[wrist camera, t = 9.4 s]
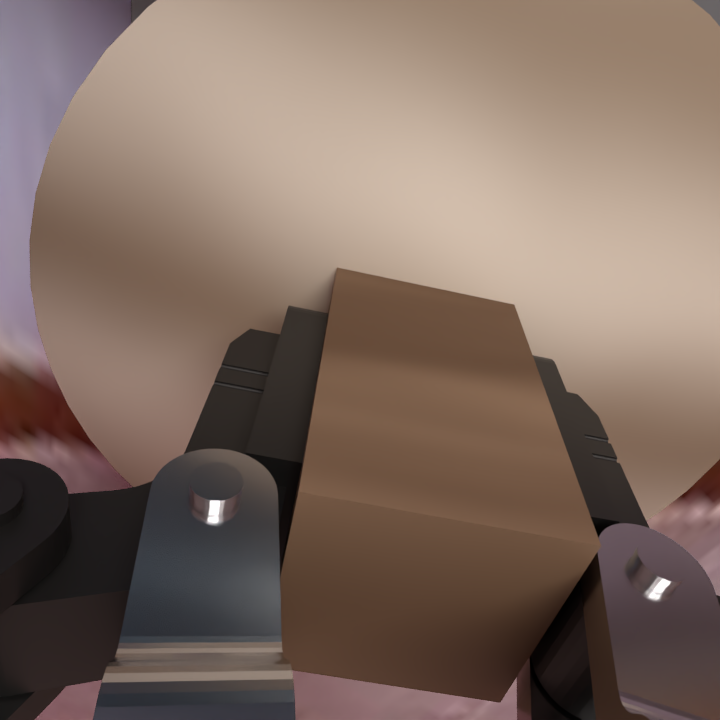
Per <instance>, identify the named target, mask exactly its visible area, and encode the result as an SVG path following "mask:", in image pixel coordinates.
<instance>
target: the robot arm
mask: <svg viewBox="0 0 720 720" xmlns="http://www.w3.org/2000/svg"><path fill="white" fill-rule="evenodd" d="M327 319H328V313H324V312H319V311H314V310H310V309H305V308H300V307H295V306H290V305H289V306H288V309H287V312H286V316H285V319H284V322H283V326H282V329H281V333H280V334H275V333H270V332H265V331H260V330H255V329H249V330H248V331H246V332H245V333H243V334H242V335H241V336H239V337H238V338H236V339H235V340H234V341H232V342H231V343H230V344H229V347H228V349H227V352H226V354H225V356H224V359H223V361H222V364H221V368H220V369H219V371H218V373H217V376H216V378H215V381H214V385H212V388H211V390H210V393H209V395H208V397H207V400H206V402H205V405H204V407H203V409H202V412H201V414H200V417H199V419H198V421H197V424H196V426H195V429H194V431H193V434H192V436H191V438H190V441H189V443H188V446H187V448H186V450H185V452H184V454H183V455H180V456H178V457H176V458H175V459H173V460H171V461H170V462H168V463H167V464H166V465H165V466H163V467H162V469H161V470H160V471H159V472H158V473H157V475H156V476H155V478H154V480H153V481H151V482H148V483H145V484H143V485H140V486H136V487H132V488H128V489H121V490H114V491H101V492H88V493H75V494H68V490H67V487H66V485H65V483H64V481H63V480H62V479H61V477H60V476H59V475H58V474H57V473H55V472H54V471H53V470H51V469H50V468H48V467H46V466H44V465H42V464H39V463H36V462H33V461H29V460H22V459H9V458H5V459H0V720H34V719H35V718H36V717H37V716H38V715H39V714H40V713H41V712H42V711H43V710H44V709H45V708H46V707H47V706H48V705H49V704H50V703H51V702H52V701H53V700H54V699H55V698H56V697H57V696H58V695H59V693H60V692H61V691H62V690H63V689H64V688H65V687H66V686H69V685H75V684H80V683H86V682H91V681H97V680H102V683H101V687H100V691H99V695H98V699H97V703H96V708H95V713H94V717H93V720H295V698H294V683H293V674H292V668H291V664H290V661H289V659H288V658H284V656H283V651H282V636H281V595H280V566H281V562H282V557H283V552H284V547H285V543H286V538H287V533H288V529H289V524H290V519H291V515H292V510H293V505H294V501H295V496H296V491H297V486H298V482H299V477H300V472H301V468H302V463H303V457H304V451H305V446H306V440H307V434H308V428H309V423H310V417H311V411H312V405H313V400H314V394H315V388H316V382H317V377H318V371H319V365H320V359H321V354H322V348H323V342H324V336H325V331H326V325H327ZM533 358H534V361H535V363H536V366H537V369H538V372H539V375H540V377H541V380H542V383H543V386H544V388H545V391H546V394H547V397H548V400H549V402H550V405H551V408H552V411H553V413H554V416H555V419H556V422H557V425H558V427H559V430H560V433H561V436H562V438H563V441H564V444H565V447H566V450H567V452H568V455H569V458H570V461H571V463H572V466H573V469H574V472H575V475H576V477H577V480H578V483H579V486H580V488H581V491H582V494H583V497H584V500H585V502H586V505H587V508H588V511H589V513H590V516H591V519H592V522H593V525H594V527H595V530H596V533H597V536H598V538H599V541H600V544H601V547H600V549H599V550H598V552H597V553H596V555H595V556H594V558H593V560H592V561H591V563H590V564H589V566H588V567H587V569H586V570H585V572H584V573H583V575H582V577H581V578H580V580H579V581H578V583H577V584H576V586H575V587H574V589H573V590H572V592H571V594H570V595H569V597H568V598H567V600H566V601H565V603H564V604H563V606H562V607H561V609H560V611H559V612H558V614H557V615H556V617H555V618H554V620H553V621H552V623H551V624H550V626H549V628H548V629H547V631H546V632H545V634H544V635H543V637H542V638H541V640H540V641H539V643H538V645H537V646H536V648H535V649H534V651H533V652H532V654H531V655H530V657H529V659H528V660H527V662H526V663H525V665H524V666H523V668H522V669H521V671H520V672H519V674H518V676H517V720H720V596H718V595H716V593H715V590H714V587H713V585H712V583H711V580H710V578H709V577H708V575H707V573H706V572H705V570H704V569H703V568H702V566H701V565H700V564H699V563H698V561H697V560H696V559H695V558H694V557H693V556H692V555H691V554H690V553H689V552H688V551H686V550H685V549H684V548H683V547H682V546H680V545H679V544H678V543H676V542H675V541H673V540H672V539H670V538H668V537H667V536H665V535H663V534H661V533H659V532H657V531H655V530H653V529H650V528H649V526H648V524H647V522H646V519H645V517H644V515H643V513H642V511H641V508H640V506H639V504H638V502H637V500H636V497H635V495H634V493H633V491H632V489H631V487H630V484H629V482H628V480H627V478H626V476H625V473H624V471H623V469H622V467H621V465H620V463H617V456H616V454H615V451H614V449H613V447H612V445H611V443H608V440H609V438H608V436H607V434H606V432H605V429H604V427H603V425H602V423H601V421H600V418H599V416H598V415H597V414H596V413H595V412H594V411H593V410H592V409H591V408H590V407H589V406H588V405H587V404H586V402H585V401H584V400H583V399H582V398H581V397H580V396H579V395H578V394H575V393H570V392H567V391H566V388H565V386H564V383H563V381H562V378H561V376H560V374H559V371H558V369H557V366H556V364H555V362H554V361H553V360H552V359H549V358H544V357H539V356H534V355H533Z"/></svg>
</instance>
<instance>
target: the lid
mask: <svg viewBox="0 0 720 720" xmlns="http://www.w3.org/2000/svg"><path fill="white" fill-rule="evenodd" d="M30 280H31V291H32V297H33V303H34V308H35V314H36V320H37V326H38V330H39V333H40V337H41V340H42V343H43V346H44V349H45V352H46V355H47V358H48V361H49V365H50V368H51V370H52V372H53V374H54V376H55V379H56V381H57V383H58V385H59V387H60V389H61V391H62V393H63V395H64V397H65V400H66V402H67V404H68V406H69V407H70V409H71V410H72V412H73V414H74V415H75V417H76V418H77V420H78V421H79V423H80V424H81V426H82V428H83V429H84V431H85V432H86V434H87V435H88V437H89V439H90V440H91V441H92V442H93V443H94V445H95V446H96V447H97V448H98V450H99V451H100V452H101V453H102V454H103V456H104V457H105V458H106V459H107V460H108V462H109V463H110V464H111V465H112V467H113V468H114V469H115V470H116V471H117V472H118V473H119V474H120V475H121V476H122V477H123V478H124V479H125V480H126V481H127V482H128V483H130V484H131V485H132V486H133V487H136V486H140V485H143V484H145V483H148V482H151V481H153V480H154V478H155V476H156V475H157V473H158V472H159V471H160V470H161V469H162V467H163V466H165V465H166V464H167V463H168V462H170V461H171V460H173V459H175V458H176V457H178V456H180V455H183V454H184V452H185V450H186V448H187V446H188V443H189V441H190V438H191V436H192V434H193V431H194V429H195V426H196V424H197V421H198V419H199V417H200V414H201V412H202V409H203V407H204V405H205V402H206V400H207V397H208V395H209V393H210V390H211V388H212V385H214V381H215V378H216V376H217V373H218V371H219V369H220V368H221V364H222V361H223V359H224V356H225V354H226V352H227V349H228V347H229V344H230V343H231V342H232V341H234V340H235V339H236V338H238V337H239V336H241V335H242V334H243V333H245V332H246V331H248V330H249V329H255V330H260V331H265V332H270V333H275V334H280V333H281V329H282V326H283V322H284V319H285V316H286V312H287V309H288V306H289V305H290V306H295V307H300V308H305V309H310V310H314V311H319V312H324V313H328V319H327V325H326V331H325V336H324V342H323V348H322V354H321V359H320V365H319V371H318V377H317V382H316V388H315V394H314V400H313V405H312V411H311V417H310V423H309V428H308V434H307V440H306V446H305V451H304V457H303V463H302V468H301V472H300V477H299V482H298V486H297V491H296V496H295V501H294V505H293V510H292V515H291V519H290V524H289V529H288V533H287V538H286V543H285V547H284V552H283V557H282V562H281V566H280V595H281V636H282V651H283V656H284V658H288V659H289V661H290V664H291V668H292V670H295V671H301V672H308V673H314V674H320V675H327V676H333V677H340V678H346V679H352V680H359V681H365V682H372V683H378V684H385V685H391V686H397V687H404V688H410V689H417V690H423V691H430V692H436V693H442V694H449V695H455V696H462V697H468V698H474V699H481V700H487V701H494V702H501V700H502V699H503V697H504V696H505V694H506V693H507V691H508V689H509V688H510V686H511V685H512V683H513V682H514V680H515V679H516V677H517V676H518V674H519V672H520V671H521V669H522V668H523V666H524V665H525V663H526V662H527V660H528V659H529V657H530V655H531V654H532V652H533V651H534V649H535V648H536V646H537V645H538V643H539V641H540V640H541V638H542V637H543V635H544V634H545V632H546V631H547V629H548V628H549V626H550V624H551V623H552V621H553V620H554V618H555V617H556V615H557V614H558V612H559V611H560V609H561V607H562V606H563V604H564V603H565V601H566V600H567V598H568V597H569V595H570V594H571V592H572V590H573V589H574V587H575V586H576V584H577V583H578V581H579V580H580V578H581V577H582V575H583V573H584V572H585V570H586V569H587V567H588V566H589V564H590V563H591V561H592V560H593V558H594V556H595V555H596V553H597V552H598V550H599V549H600V547H601V544H600V541H599V538H598V536H597V533H596V530H595V527H594V525H593V522H592V519H591V516H590V513H589V511H588V508H587V505H586V502H585V500H584V497H583V494H582V491H581V488H580V486H579V483H578V480H577V477H576V475H575V472H574V469H573V466H572V463H571V461H570V458H569V455H568V452H567V450H566V447H565V444H564V441H563V438H562V436H561V433H560V430H559V427H558V425H557V422H556V419H555V416H554V413H553V411H552V408H551V405H550V402H549V400H548V397H547V394H546V391H545V388H544V386H543V383H542V380H541V377H540V375H539V372H538V369H537V366H536V363H535V361H534V358H533V355H534V356H539V357H544V358H549V359H552V360H553V361H554V362H555V364H556V366H557V369H558V371H559V374H560V376H561V378H562V381H563V383H564V386H565V388H566V391H567V392H570V393H575V394H578V395H579V396H580V397H581V398H582V399H583V400H584V401H585V402H586V404H587V405H588V406H589V407H590V408H591V409H592V410H593V411H594V412H595V413H596V414H597V415H598V416H599V418H600V421H601V423H602V425H603V427H604V429H605V432H606V434H607V436H608V438H609V440H608V443H611V445H612V447H613V449H614V451H615V454H616V456H617V463H620V465H621V467H622V469H623V471H624V473H625V476H626V478H627V480H628V482H629V484H630V487H631V489H632V491H633V493H634V495H635V497H636V500H637V502H638V504H639V506H640V508H641V511H642V513H643V515H644V517H645V519H646V521H647V520H649V519H650V518H652V517H653V516H655V515H656V514H658V513H659V512H660V511H662V510H663V509H664V508H665V507H667V506H668V505H669V504H671V503H672V502H673V501H674V500H676V499H677V498H678V497H679V496H681V495H682V494H683V493H685V492H686V491H687V490H688V489H689V488H690V487H691V486H692V485H694V484H695V483H696V482H697V481H698V480H699V479H700V478H701V477H702V476H703V475H704V474H705V473H706V472H707V471H708V470H709V469H710V468H711V467H712V466H713V465H714V464H715V463H716V462H717V461H718V460H719V459H720V26H719V25H718V24H717V23H716V21H715V20H714V19H713V18H712V17H711V16H710V14H708V13H707V12H706V11H705V10H703V9H702V8H701V7H700V6H699V5H697V4H696V3H695V2H694V1H692V0H156V1H155V2H154V3H152V4H151V5H150V6H148V7H147V8H146V9H145V10H144V11H143V13H142V14H141V15H140V16H139V17H138V18H137V19H136V20H135V21H134V22H133V23H132V24H131V25H130V26H129V27H128V28H127V29H126V30H125V31H124V32H123V33H122V34H121V35H120V36H119V37H118V38H117V39H116V40H115V41H114V42H113V43H112V44H111V45H110V46H109V47H108V48H107V49H106V51H105V52H104V53H103V55H102V56H101V58H100V59H99V61H98V62H97V63H96V65H95V66H94V68H93V69H92V71H91V72H90V73H89V75H88V76H87V78H86V79H85V81H84V82H83V83H82V85H81V86H80V88H79V89H78V91H77V92H76V93H75V95H74V96H73V98H72V100H71V102H70V104H69V107H68V109H67V111H66V113H65V115H64V117H63V119H62V121H61V123H60V125H59V127H58V129H57V131H56V134H55V136H54V138H53V140H52V142H51V144H50V147H49V150H48V154H47V157H46V160H45V164H44V167H43V170H42V174H41V177H40V181H39V184H38V187H37V191H36V195H35V203H34V211H33V218H32V226H31V234H30Z"/></svg>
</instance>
